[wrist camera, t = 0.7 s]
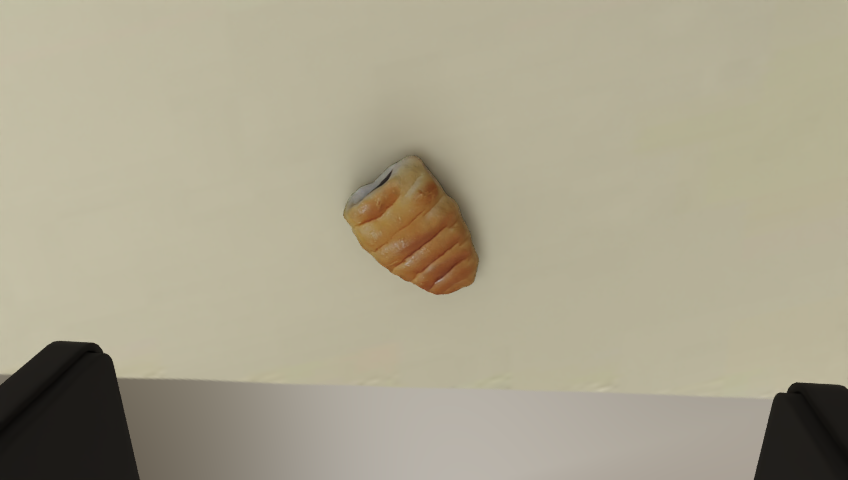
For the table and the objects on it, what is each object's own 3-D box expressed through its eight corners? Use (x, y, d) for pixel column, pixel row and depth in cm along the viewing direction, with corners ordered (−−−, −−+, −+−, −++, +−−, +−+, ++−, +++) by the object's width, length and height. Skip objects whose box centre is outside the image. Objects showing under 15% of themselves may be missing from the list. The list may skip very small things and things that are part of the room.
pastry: (504, 249, 44) (504, 275, 40) (428, 304, 46) (421, 332, 42) (412, 142, 42) (403, 159, 38) (337, 204, 44) (322, 225, 40)
